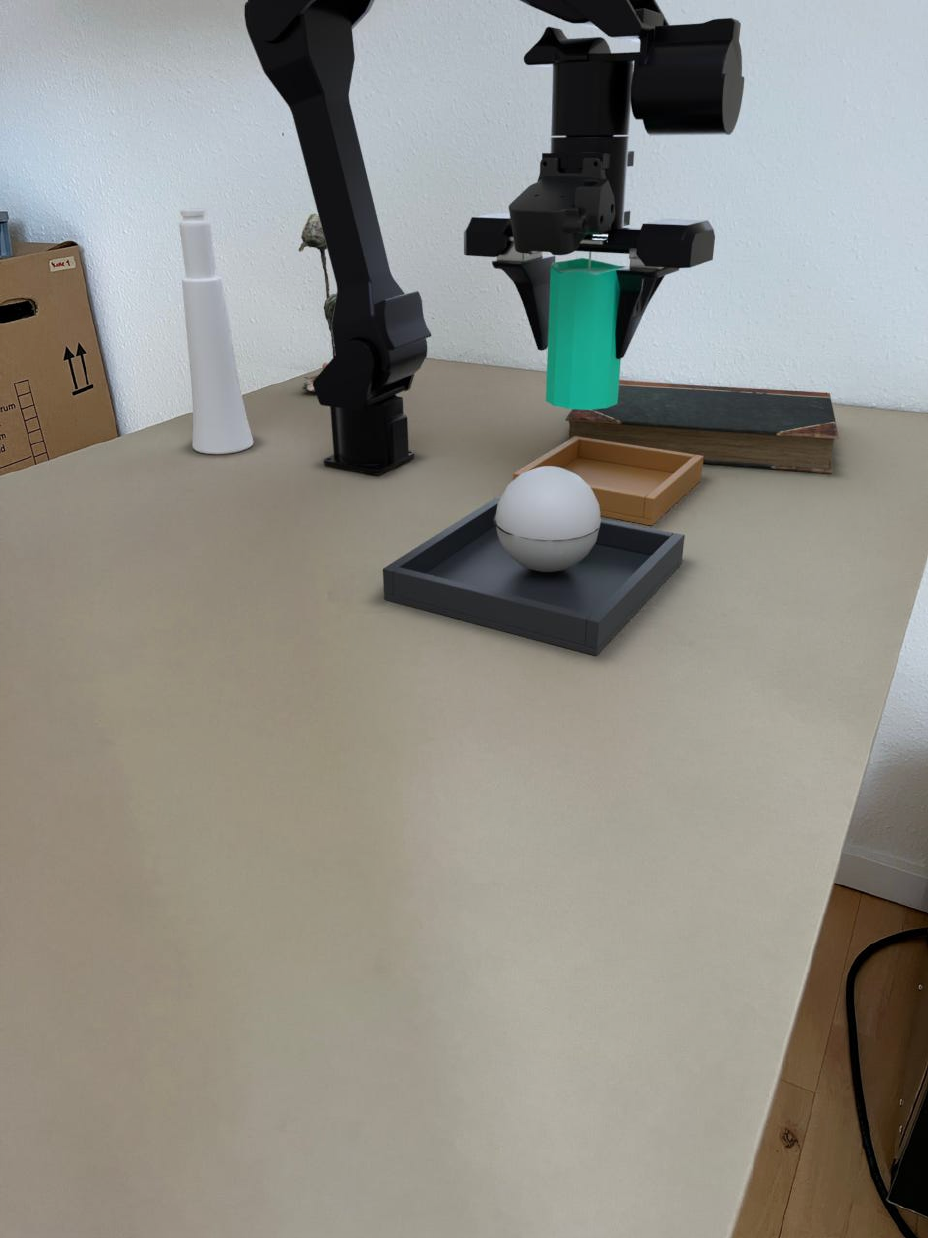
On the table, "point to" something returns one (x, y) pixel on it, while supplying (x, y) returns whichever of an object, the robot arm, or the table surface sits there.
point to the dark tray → (535, 581)
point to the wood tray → (626, 476)
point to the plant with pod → (315, 238)
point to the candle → (583, 335)
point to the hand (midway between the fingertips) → (579, 353)
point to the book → (719, 424)
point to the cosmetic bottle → (210, 346)
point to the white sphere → (548, 519)
